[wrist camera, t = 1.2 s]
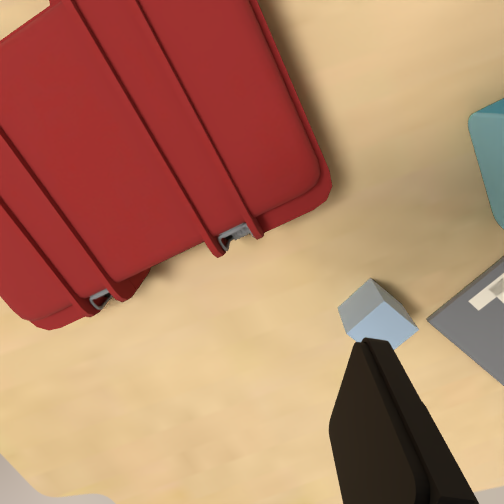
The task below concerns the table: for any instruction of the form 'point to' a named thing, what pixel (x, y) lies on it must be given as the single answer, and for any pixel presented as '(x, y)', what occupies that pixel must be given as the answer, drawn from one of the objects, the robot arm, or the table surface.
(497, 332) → the letter mat
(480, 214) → the table surface
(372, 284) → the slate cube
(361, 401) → the robot arm
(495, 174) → the data package
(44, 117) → the first aid kit
